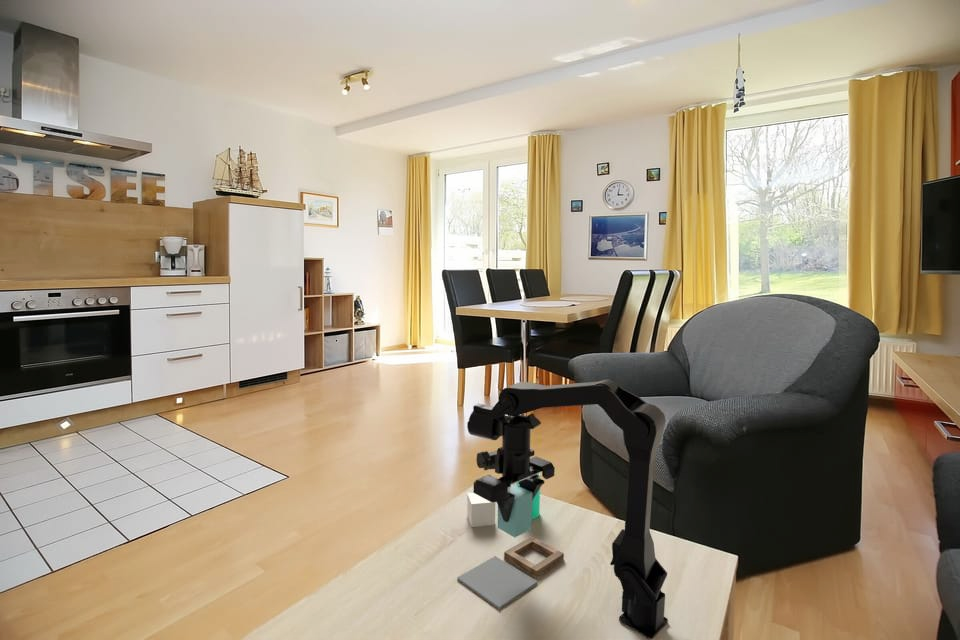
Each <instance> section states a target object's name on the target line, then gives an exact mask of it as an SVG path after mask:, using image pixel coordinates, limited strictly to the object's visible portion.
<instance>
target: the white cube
mask: <svg viewBox="0 0 960 640" xmlns="http://www.w3.org/2000/svg"><path fill="white" fill-rule="evenodd" d="M466 494H467V496H466V497H467V498H466V499H467V500H466V502H467V504H466V507H467V509H466V515H467V518H468V521H469V524H470V527H472V528H474V527H484V526H483V525H486V526H495V525H496V502H490V501H488V500H486V499H484V498H482V497H480V496H479V495H477V494H475V493H473V492H466ZM494 524H495V525H494Z"/></svg>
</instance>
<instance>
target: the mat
mask: <svg viewBox="0 0 960 640" xmlns="http://www.w3.org/2000/svg"><path fill="white" fill-rule="evenodd" d="M457 581H458V582H460V583H461V584H462V585H464V586H465V587H466V588H468V589H469V590H471V591H472V592H474V593H475V594H477V595H478V596H479V597H481V598H482V599H483V600H485V601H486V602H488V603H489V604H490V605H492V606H494V607H495V609H498V610H501V609H503V608H504V607H505V606H507V605H508V604H510V603H511V602H513V601H514V600H516V599H517V598H519V597H520V596H521V595H523V594H524V593H526V592H527V591H529V590H530V589H532V588H533V587H535V586H537V585H538V581H537V580H536V579H534V578H532V577H530V576H528V575H527V574H525V573H524V572H522V571H520V570H519V569H517V568H515V567H514V566H512V565H511V564H510V563H507V562H506V561H505V560H502V559H501V558H499V557H498V556H497V555H495V556H493V557H490V558H489V559H486V560H485V561H483V562H482V563H480V564H478V565H477V566H475V567H473V568H471V569H470V570H468V571H466V572H464V573H463V574H461V575H459V576H458V577H457Z"/></svg>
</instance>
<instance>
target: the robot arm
mask: <svg viewBox="0 0 960 640" xmlns="http://www.w3.org/2000/svg"><path fill="white" fill-rule="evenodd" d="M590 405H591V406H592V405H593V406H594V405H597V406H599V407H600V408H601V409H602V410H603V411H604V412H605V414H606V415H607V417H608V418H609V419H610V421H612V422H613V424H614V425H616V426H617V428H619V429H620V430H622V435H623V444H624V448H625V450H626V453H627V456H628V472H627V474H628V475H627V485H626V486H627V487H626V503H625V516H624V517H625V518H624V520H625V521H624V528H622V529H621V530H620V531H619V533H618V534H617V536H616V537H615V539H614V540H613V541H612V543H611V551H612V558H611V559H612V560H611V561H610V563H609V564H610V566H613V573H614V576H615V577H616V578H617V579H618V580H619V582H620V585H621V588H622V597H621V612H622V614H621V615H619V616H618V621H619V622H620V623H622V624H623V625H626V626H627V627H629V628H630V629H633V630H634V631H635V632H637V633H639V634H641V635H643V636H644V637H645V638H647V639H650V640H651V639H653V638H654V637H655V636H656V635H657V634H658V633H659V632H660V631H661V630H662V629H663V628H664V627H665V626H666V625H667V624H668V622H669V619H668V617H665V608H666V607H665V603H666V594H665V593H664V592H663V591H662V588H663V586H664V583H665V581H666V579H667V577H668V571H666V570H665V568H664V567H663V565H662V564H661V563H660V562H659V561H658V560H657V558H656V552H655V551H656V550H655V542H654V540H653V537H652V534H651V531H650V530H651V529H650V526H651V525H650V524H651V512H652V501H653V500H652V499H653V484H654V469H655V460H656V459H655V458H656V454H657V452H658V449H659V446H660V443H661V440H662V437H663V434H664V430H665V428H666V427H665V426H666V422H667V421H666V415H665V414H664V412H663V411H662V410H661V409H660V407H658V406H656V405H654V404H651V403H648V402H646V401H644V400H643V399H642V398H641V397H640V396H639V395H636V394H635V393H632V392H630V391H628V390H627V389H625V388H623V387H622V386H620V385H619V384H618V383H616V382H615V381H613V380H611V379H603V380H599V381H590V382H577V383H565V384H554V385H543V384H539V383H537V382H528V381H519V382H516V383H513V384H511V385H509V386H508V387H504V388H503V389H502V390H501V391H500V392H499V394H498V401H497V402H496V404H494V406H488V405H485V404H484V403H477V404H474V405H473V407H472V409H473V410H472V411H471V413H470V415H469V419H468V422H467V423H466V425H467V427H466V428H467V431H468V434H470V435H471V436H474V437H479V438H481V439H482V438H483V439H487V440H491V441H497V440H498V439H500V438H501V437H502V439H501V442H502V443H501V447H498V448H497V450H493V451H490V452H489V451H488V450H485V451H481V452H477V453H476V460H475V461H476V466H477V468H479V469H483V471H489V470H494V473H495V474H498V475H500V474H501V476H500V477H499V478H497V477H495V476H493V475H490V474H487V475H485V476H482V477H479V478H477V479H476V480H474V481H473V492H472V493H475V494H477V495H479V496H480V497H482V498H484V499H486V500H488V501H490V502H495V503H496V504H497V508H498V507H499V510H500V513H501V515H502V518H503V520H504V521H505V522H508V521H509V518H510V514H511V510H512V506H513V502H514V498H515V495H514V494H512V493H510V488H511V486H512V485H514V484H517V483H519V485H520V487H522V488H524V489H526V490H528V491H530V492H532V501H533V499H534V497H535V496H536V494H537V492H538V491H539V489H540V490H541V488H542V486H543V485H544V484H545V480H549V479H551V478H554V477H555V468H556V467H555V466H554V464H553V463H552V462H551V461H549V460H546V459H543V458H541V457H539V456H535V450H534V449H532V448H531V431H532V430H533V429H536V428H537V427H538V426H540V425H541V424H542V423H541V421H540V419H538V417H536V416H535V414H534V413H533V412H532V411H537V410H539V409H543V408H557V407H558V408H559V407H573V406H575V407H576V406H577V407H579V406H590ZM530 412H532V413H530ZM527 413H530V414H528V415H525V414H527ZM523 414H524V415H523ZM540 473H541V475H540V476H539V474H540ZM541 476H542V477H543V479H542V478H541ZM544 479H545V480H544Z"/></svg>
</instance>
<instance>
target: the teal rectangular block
mask: <svg viewBox="0 0 960 640" xmlns="http://www.w3.org/2000/svg"><path fill="white" fill-rule="evenodd" d="M510 493H512V494H514V495H515V498H514V502H513V506H512V510H511V514H510V518H509V521H508V522H505V521H504V520H503V518H502V515H501V513H500V510H499V507H498V506H497V529H499V530H501V531H503V532H504V533H506V534H508V535H509V536H511V537H513V538H517V537H519V536H521V535H523V534H525V533H526V532H528V531H531V530H532V527H533V526H532V523H533V522H532V521H533V519H532V492H530V491H528V490H526V489H524V488H522V487H520V486H518V485H517V483H515V484H513V485H511V488H510Z"/></svg>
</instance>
